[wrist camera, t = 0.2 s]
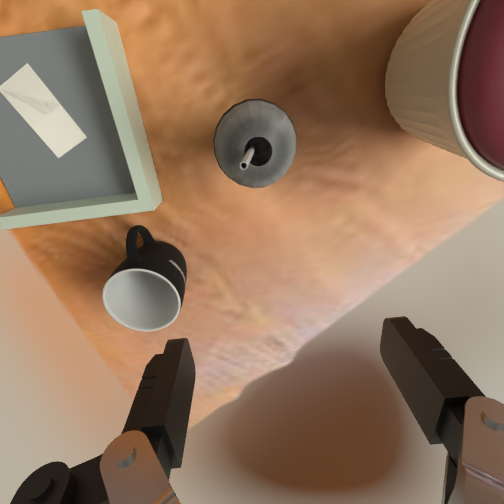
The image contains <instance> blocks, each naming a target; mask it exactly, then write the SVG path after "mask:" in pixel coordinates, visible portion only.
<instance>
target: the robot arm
mask: <svg viewBox="0 0 504 504" xmlns="http://www.w3.org/2000/svg"><path fill="white" fill-rule="evenodd" d="M380 352H381V356H382V359H383V361H384V363H385V365H386V367H387V369H388V370H389V372H390V374H391V376H392V378H393V379H394V381H395V383H396V385H397V386H398V388H399V390H400V391H401V393H402V395H403V397H404V399H405V401H406V402H407V404H408V406H409V408H410V409H411V411H412V413H413V415H414V417H415V418H416V420H417V422H418V424H419V425H420V427H421V429H422V431H423V432H424V434H425V436H426V438H427V440H428V441H429V443H430V444H441V443H443V444H444V446H445V448H446V449H447V451H448V453H447V456H446V465H445V475H444V484H443V494H442V503H441V504H504V404H503V403H501V402H499V401H497V400H494V399H491V398H488V397H486V396H485V395H484V394H483V393H482V392H481V391H480V389H479V388H478V387H477V386H476V385H475V384H474V382H473V381H472V380H471V379H470V378H469V376H468V375H467V374H466V373H465V372H464V371H463V370H462V368H461V367H460V366H459V365H458V363H457V362H456V361H455V360H453V359H452V356H451V355H450V354H449V353H448V352H447V351H446V350H445V349H444V347H443V346H442V345H441V344H440V343H439V341H438V340H437V339H436V338H435V337H434V336H433V335H431V334H430V333H428V332H427V331H425V330H424V329H422V328H418V329H416V328H415V327H414V325H413V324H412V323H411V322H410V321H409V320H408V318H407V317H393V318H386V319H385V320H384V322H383V329H382V336H381V343H380ZM194 384H195V364H194V360H193V356H192V352H191V349H190V345H189V341H188V339H187V338H181V339H172V340H168V341H167V343H166V346H165V350H164V353H163V354H156V355H155V356H154V357H153V358H152V359H151V360H150V362H149V363H148V364H147V365H146V368H145V371H144V373H143V376H142V380H141V382H140V385H139V387H138V388H139V389H138V390H137V393H136V396H135V399H134V401H133V404H132V407H131V410H130V413H129V415H128V418H127V421H126V424H125V427H124V429H123V431H122V433H121V435H119V436H118V437H117V438H115V439H114V440H113V441H112V442H111V443H110V444H109V445H108V446H107V448H106V450H105V451H104V453H103V454H101V455H100V456H97V457H95V458H93V459H91V460H89V461H86V462H84V463H82V464H79V465H77V466H75V467H72V468H70V469H69V468H68V466H67V465H66V464H65V463H63V462H51V463H48V464H46V465H44V466H42V467H40V468H39V469H37V470H36V471H34V472H33V473H32V474H31V475H30V476H29V477H28V478H27V479H26V480H25V481H24V482H23V483H22V484H21V486H20V487H19V489H18V490H17V492H16V494H15V495H14V497H13V499H12V501H11V503H10V504H180V502H179V500H178V498H177V496H176V494H175V493H174V491H173V489H172V487H171V485H170V483H169V477H170V471H171V469H172V468H180V467H181V464H182V458H183V451H184V445H185V439H186V433H187V427H188V421H189V415H190V409H191V402H192V396H193V390H194Z"/></svg>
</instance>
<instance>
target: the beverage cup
mask: <svg viewBox="0 0 504 504" xmlns="http://www.w3.org/2000/svg"><path fill="white" fill-rule="evenodd" d="M213 142H214V153H215V157H216V159H217V162H218V164H219V166H220V168H221V169H222V171H223V172H224V173H225V174H226V175H227V177H228V178H230V179H232V180H233V181H235V182H236V183H238V184H239V185H243V186H247V187H250V188H260V187H266V186H268V185H271V184H274V183H276V182H277V181H278V180H279V179H281V178H282V177H283V176H284V175H285V174H286V173H287V171H288V170H289V168H290V167H291V165H292V163H293V160H294V157H295V154H296V146H297V136H296V132H295V129H294V125H293V123H292V121H291V120H290V118H289V117H288V115H287V114H286V112H285V111H284V110H282V109H281V108H280V107H279V106H277V105H276V104H275V103H272V102H269V101H266V100H263V99H247V100H244V101H242V102H240V103H237V104H235V105H233V106H232V107H231V108H230V109H229V110H228V111H227V112H225V113H224V114H223V116H222V118H221V119H220V121H219V123H218V125H217V127H216V131H215V135H214V140H213Z"/></svg>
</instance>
